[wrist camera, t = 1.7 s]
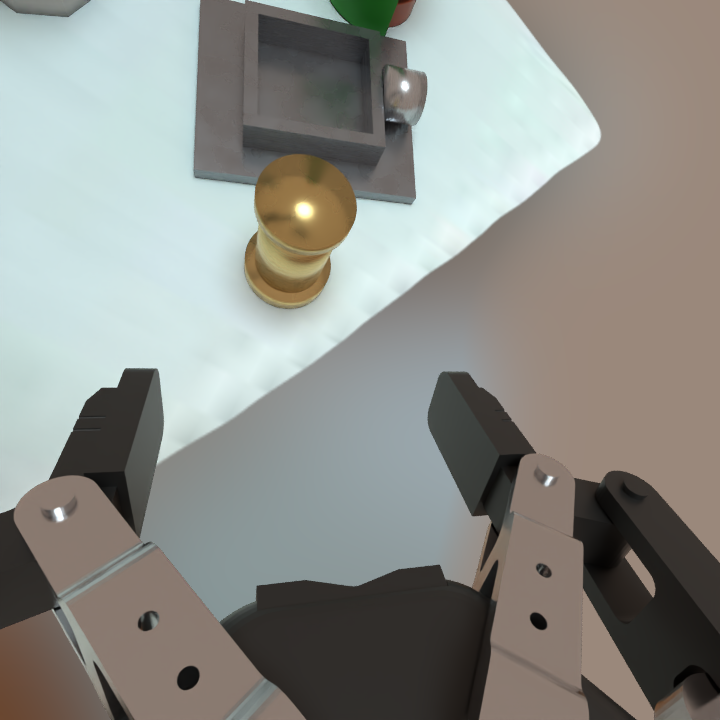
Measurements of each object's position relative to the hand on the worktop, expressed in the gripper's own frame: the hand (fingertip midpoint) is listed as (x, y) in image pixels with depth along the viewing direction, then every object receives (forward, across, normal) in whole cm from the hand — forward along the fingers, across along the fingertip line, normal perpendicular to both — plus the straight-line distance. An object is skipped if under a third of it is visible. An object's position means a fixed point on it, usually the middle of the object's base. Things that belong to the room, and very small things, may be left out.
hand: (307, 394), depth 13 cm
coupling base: (+34, -3, -5) cm, 34 cm away
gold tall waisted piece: (+23, -1, +6) cm, 24 cm away
